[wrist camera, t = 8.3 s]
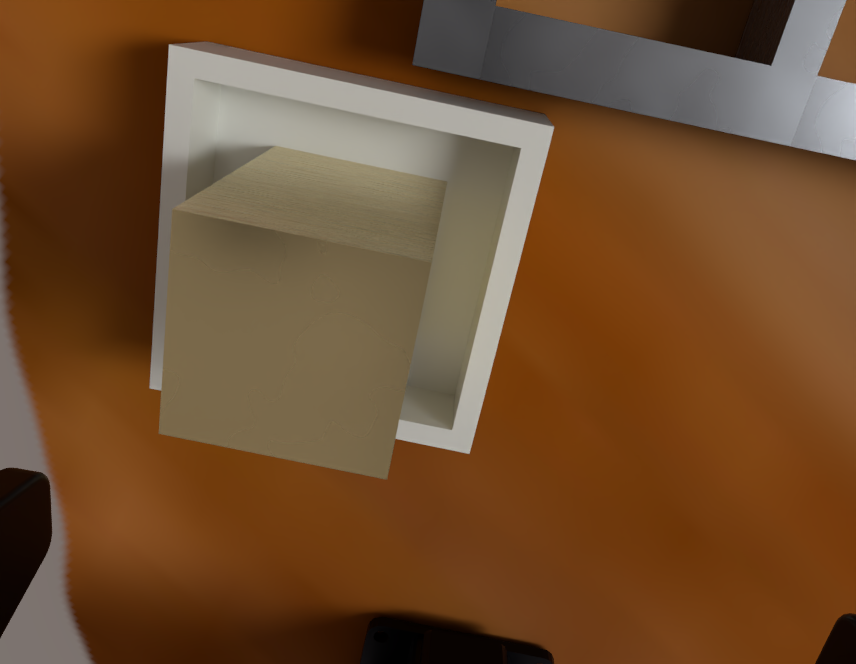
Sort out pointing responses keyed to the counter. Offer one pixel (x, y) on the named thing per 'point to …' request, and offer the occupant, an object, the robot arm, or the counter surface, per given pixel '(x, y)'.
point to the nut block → (298, 308)
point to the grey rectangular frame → (661, 69)
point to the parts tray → (386, 148)
